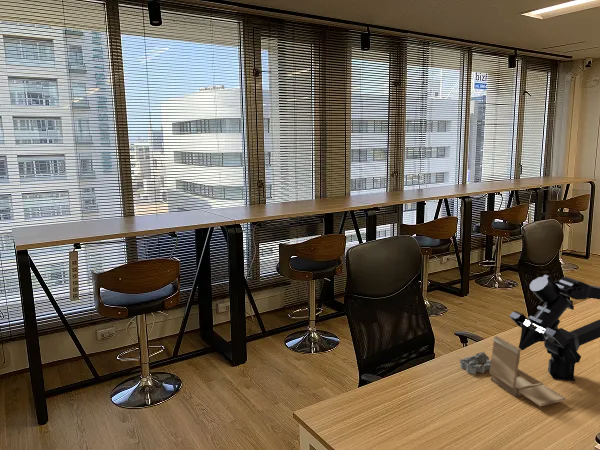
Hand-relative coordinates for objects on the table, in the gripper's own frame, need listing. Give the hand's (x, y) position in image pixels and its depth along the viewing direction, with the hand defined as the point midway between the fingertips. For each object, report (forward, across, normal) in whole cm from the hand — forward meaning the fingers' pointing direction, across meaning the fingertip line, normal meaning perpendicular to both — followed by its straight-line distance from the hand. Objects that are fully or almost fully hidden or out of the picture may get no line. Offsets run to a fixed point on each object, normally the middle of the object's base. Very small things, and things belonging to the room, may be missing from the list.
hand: (520, 349), depth 148 cm
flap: (+10, -1, -2) cm, 11 cm away
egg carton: (+12, +13, -5) cm, 19 cm away
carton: (+9, -5, -7) cm, 13 cm away
